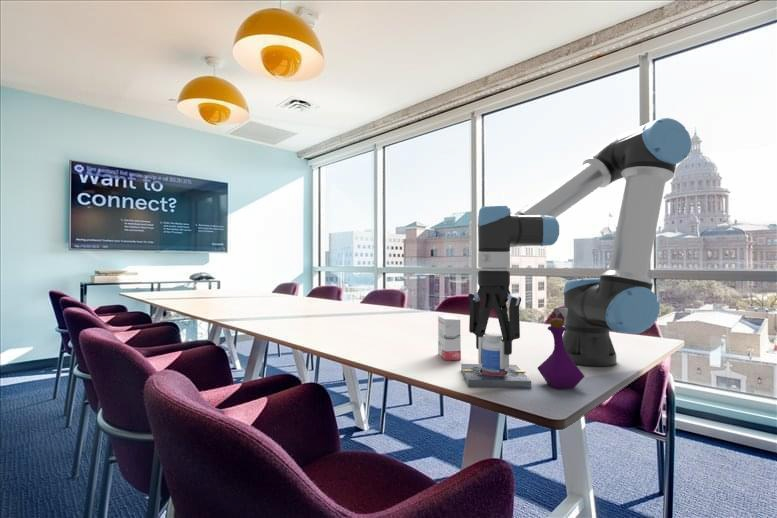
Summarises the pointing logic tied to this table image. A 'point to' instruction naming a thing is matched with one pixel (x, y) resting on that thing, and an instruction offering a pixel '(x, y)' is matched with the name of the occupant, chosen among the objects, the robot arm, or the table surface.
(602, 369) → the table surface
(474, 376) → the socket plate
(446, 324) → the ink box
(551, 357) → the perfume bottle
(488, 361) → the pill bottle
